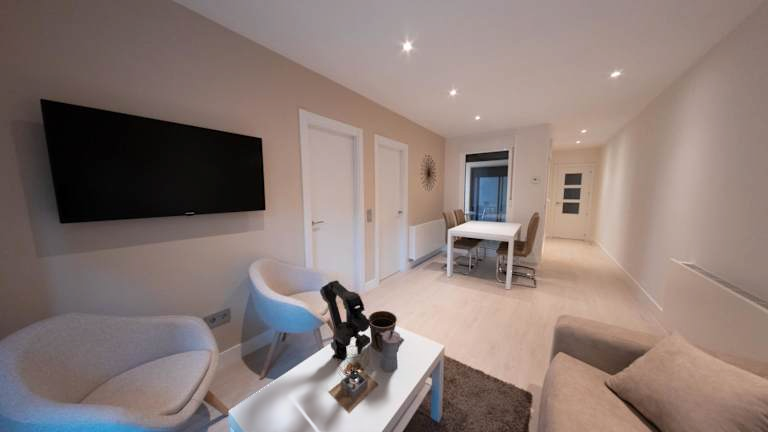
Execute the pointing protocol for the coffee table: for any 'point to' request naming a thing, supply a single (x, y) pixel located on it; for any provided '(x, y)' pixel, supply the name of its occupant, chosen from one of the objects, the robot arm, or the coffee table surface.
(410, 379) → the coffee table surface
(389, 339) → the moka pot
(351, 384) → the plunger
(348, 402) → the board
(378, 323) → the plant pot
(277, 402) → the coffee table surface
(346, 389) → the press
